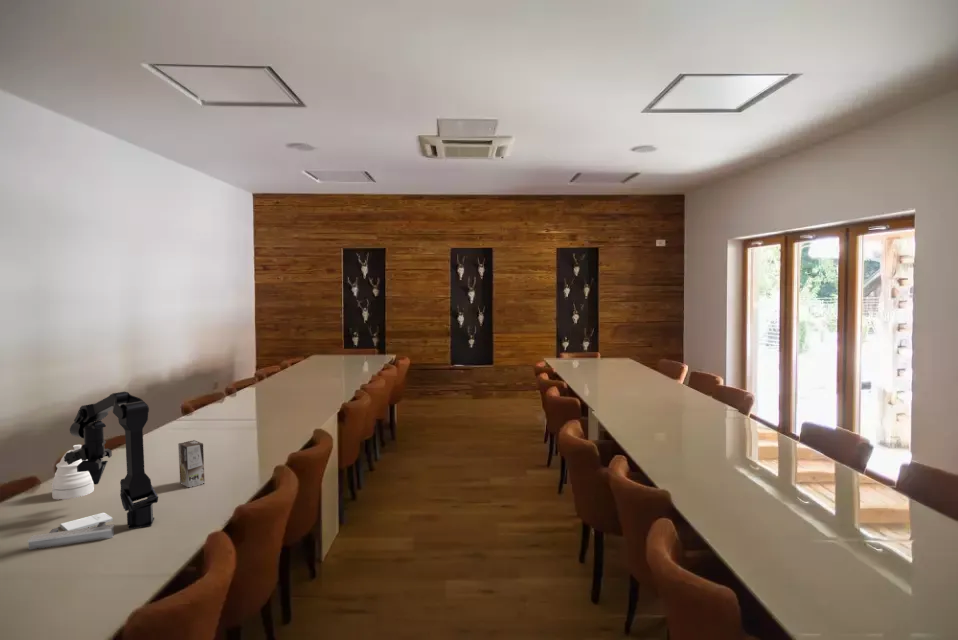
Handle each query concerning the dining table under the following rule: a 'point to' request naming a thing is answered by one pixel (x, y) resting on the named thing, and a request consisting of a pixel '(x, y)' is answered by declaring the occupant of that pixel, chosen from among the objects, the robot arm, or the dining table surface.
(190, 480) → the coffee box
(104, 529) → the grey door handle
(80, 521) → the external hard drive
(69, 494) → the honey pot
